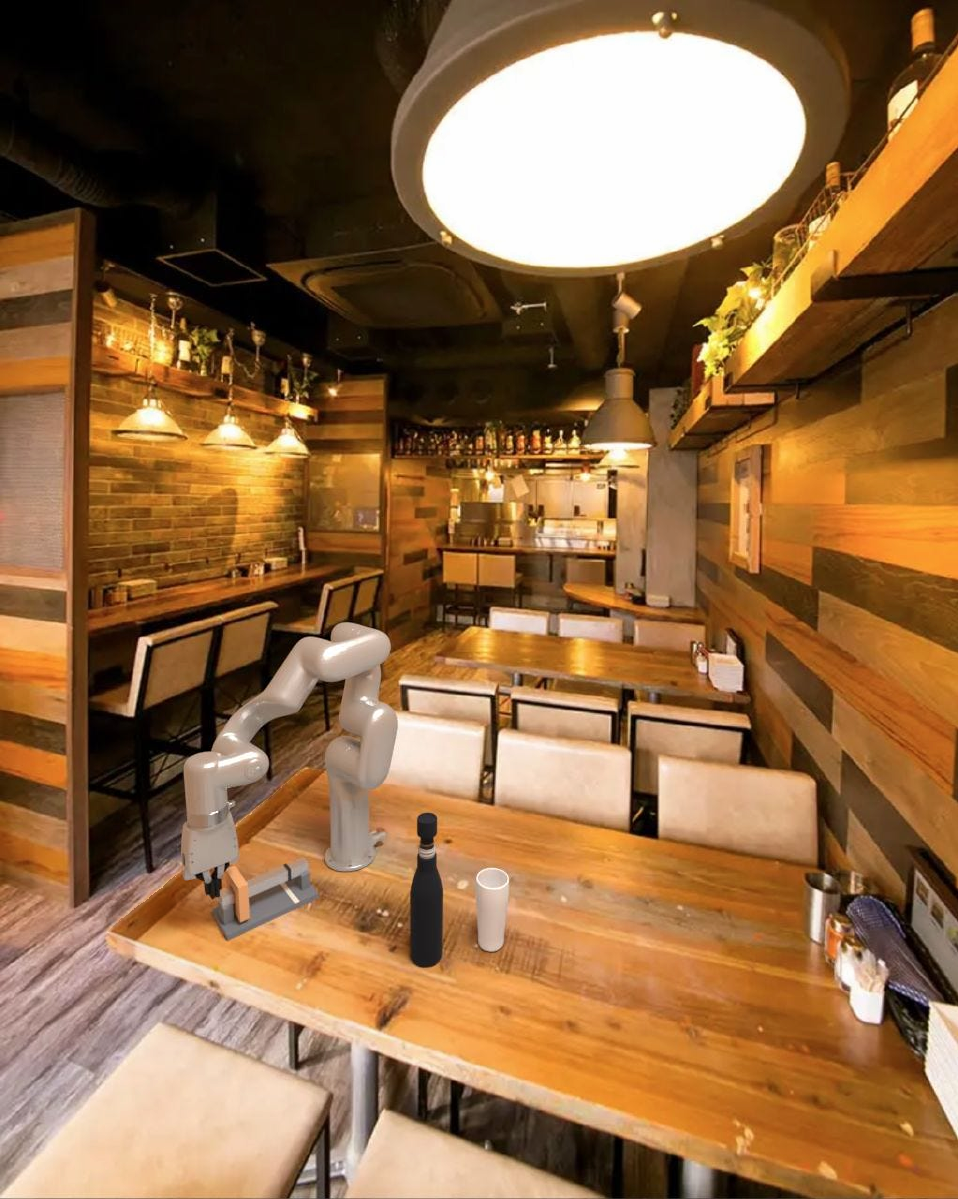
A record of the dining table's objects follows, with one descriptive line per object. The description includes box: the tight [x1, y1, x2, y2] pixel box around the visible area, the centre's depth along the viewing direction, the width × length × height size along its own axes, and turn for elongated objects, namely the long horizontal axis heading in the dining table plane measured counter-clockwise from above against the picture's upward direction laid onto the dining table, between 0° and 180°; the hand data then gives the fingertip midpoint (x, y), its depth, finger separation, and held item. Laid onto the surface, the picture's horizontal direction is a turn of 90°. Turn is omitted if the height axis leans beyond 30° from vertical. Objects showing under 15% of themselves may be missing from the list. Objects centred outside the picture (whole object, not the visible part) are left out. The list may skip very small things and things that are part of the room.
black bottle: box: [409, 812, 444, 969], centre depth 112 cm, size 6×6×30 cm
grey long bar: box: [218, 856, 310, 909], centre depth 127 cm, size 19×3×3 cm, turn 131°
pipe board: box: [211, 871, 320, 941], centre depth 127 cm, size 20×10×5 cm, turn 131°
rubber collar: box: [224, 865, 250, 923], centre depth 123 cm, size 2×8×8 cm, turn 41°
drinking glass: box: [475, 867, 510, 953], centre depth 117 cm, size 7×7×15 cm
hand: (213, 894), depth 119 cm, fingers closed
